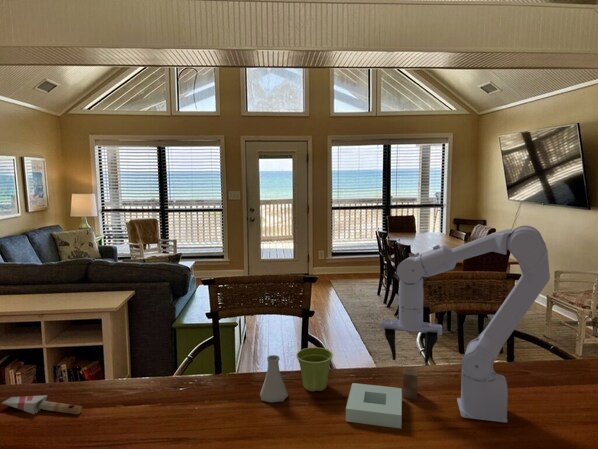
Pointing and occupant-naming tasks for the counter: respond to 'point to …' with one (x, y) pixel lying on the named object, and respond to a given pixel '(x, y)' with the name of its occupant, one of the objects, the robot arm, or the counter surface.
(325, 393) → the counter surface
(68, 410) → the grey and wooden tool
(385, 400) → the socket block
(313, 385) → the plant pot
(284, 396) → the flask
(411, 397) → the walnut peg
